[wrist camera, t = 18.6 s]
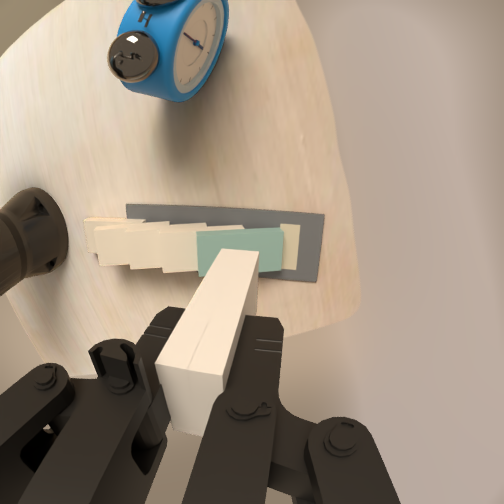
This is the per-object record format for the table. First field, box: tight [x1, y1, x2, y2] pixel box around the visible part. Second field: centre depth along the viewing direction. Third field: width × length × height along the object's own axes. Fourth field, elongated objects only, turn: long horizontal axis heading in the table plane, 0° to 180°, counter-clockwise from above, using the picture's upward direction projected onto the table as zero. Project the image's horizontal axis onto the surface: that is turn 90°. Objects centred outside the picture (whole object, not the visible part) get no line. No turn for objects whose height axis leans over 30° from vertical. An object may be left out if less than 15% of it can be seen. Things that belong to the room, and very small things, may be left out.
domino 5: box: [196, 227, 284, 277], centre depth 35 cm, size 2×5×10 cm
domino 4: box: [159, 225, 244, 273], centre depth 36 cm, size 2×5×10 cm
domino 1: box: [83, 217, 146, 253], centre depth 39 cm, size 2×5×10 cm
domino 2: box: [94, 221, 170, 266], centre depth 37 cm, size 2×5×10 cm
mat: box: [126, 204, 324, 282], centre depth 38 cm, size 26×9×1 cm, turn 88°
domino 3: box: [126, 223, 207, 270], centre depth 36 cm, size 2×5×10 cm
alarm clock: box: [107, 0, 229, 102], centre depth 23 cm, size 13×6×15 cm, turn 160°
